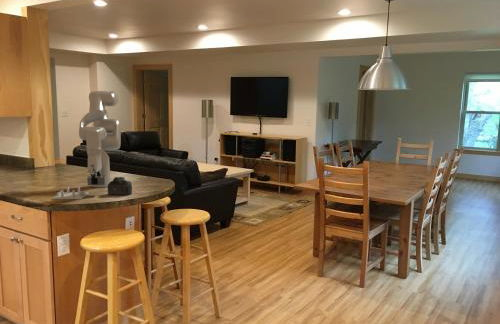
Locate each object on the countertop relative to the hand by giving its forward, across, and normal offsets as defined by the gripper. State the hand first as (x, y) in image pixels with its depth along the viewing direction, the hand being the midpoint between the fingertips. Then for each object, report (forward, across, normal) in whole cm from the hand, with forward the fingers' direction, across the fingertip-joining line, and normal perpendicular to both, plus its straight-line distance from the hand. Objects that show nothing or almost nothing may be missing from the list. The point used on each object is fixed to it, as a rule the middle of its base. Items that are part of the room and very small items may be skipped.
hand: (96, 182), depth 232 cm
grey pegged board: (+7, +5, -13) cm, 15 cm away
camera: (+7, -1, +13) cm, 15 cm away
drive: (+1, 0, 0) cm, 1 cm away
